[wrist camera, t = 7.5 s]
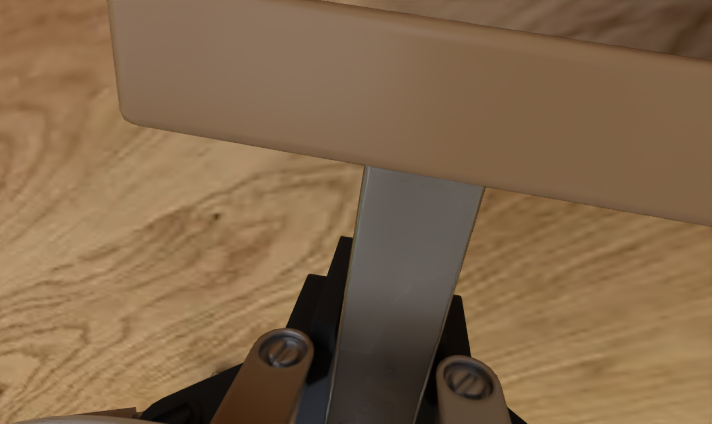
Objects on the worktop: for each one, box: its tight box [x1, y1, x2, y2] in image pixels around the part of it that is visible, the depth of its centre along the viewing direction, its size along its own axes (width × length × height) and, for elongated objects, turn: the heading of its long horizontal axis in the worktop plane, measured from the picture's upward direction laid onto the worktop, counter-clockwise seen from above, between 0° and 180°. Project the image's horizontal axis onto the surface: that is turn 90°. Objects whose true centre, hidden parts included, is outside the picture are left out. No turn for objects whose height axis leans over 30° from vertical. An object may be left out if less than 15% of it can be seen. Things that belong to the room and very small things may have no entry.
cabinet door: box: [107, 0, 712, 424], centre depth 10 cm, size 7×14×16 cm, turn 82°
